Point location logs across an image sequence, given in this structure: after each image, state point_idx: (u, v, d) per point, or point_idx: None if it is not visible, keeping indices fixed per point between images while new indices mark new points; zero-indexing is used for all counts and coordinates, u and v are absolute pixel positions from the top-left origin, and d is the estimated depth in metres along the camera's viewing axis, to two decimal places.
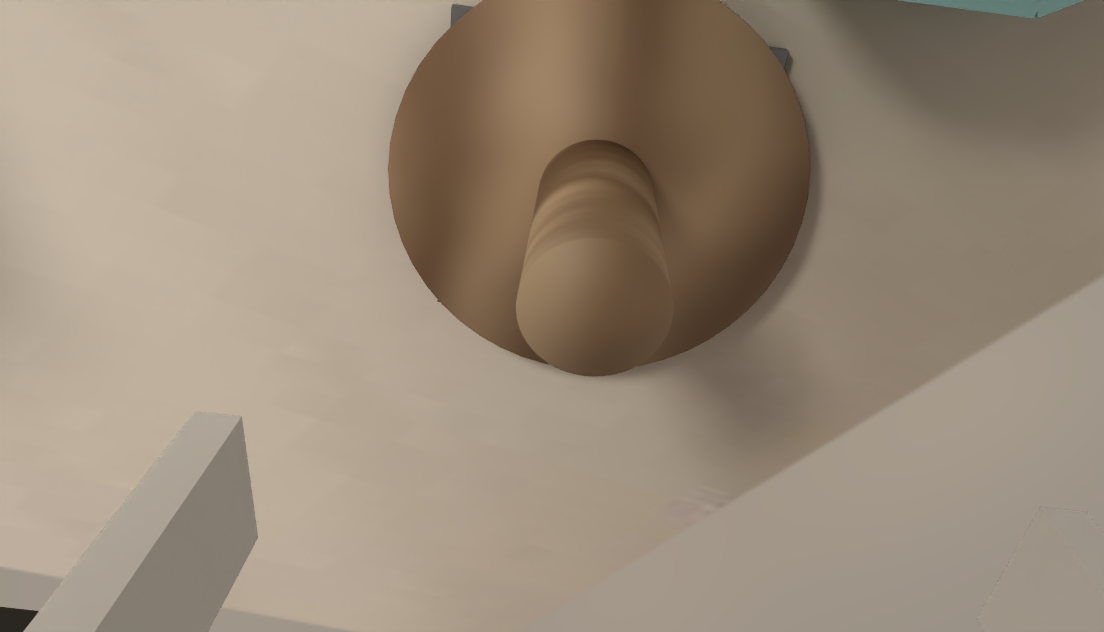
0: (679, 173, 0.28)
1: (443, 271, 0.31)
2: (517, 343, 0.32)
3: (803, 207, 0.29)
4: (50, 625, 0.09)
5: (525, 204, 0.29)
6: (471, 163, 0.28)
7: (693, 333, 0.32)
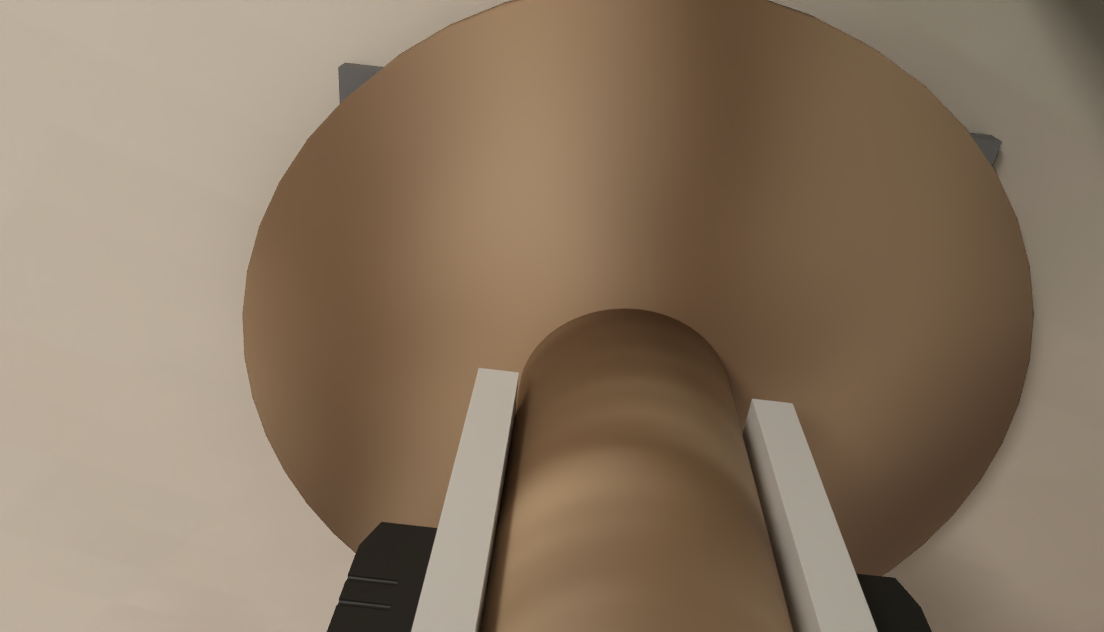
0: (779, 364, 0.15)
1: (359, 513, 0.18)
2: None
3: (1009, 418, 0.15)
4: (453, 529, 0.10)
5: None
6: (393, 348, 0.15)
7: None
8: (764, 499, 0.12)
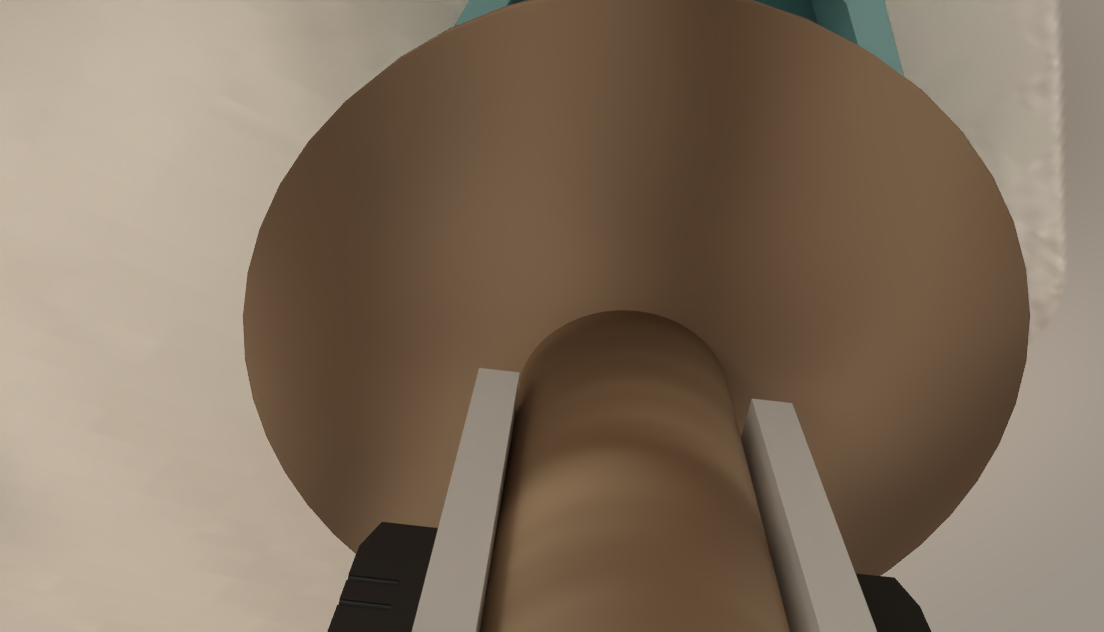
0: (777, 365, 0.15)
1: (359, 513, 0.18)
2: None
3: (1005, 420, 0.16)
4: (453, 530, 0.10)
5: None
6: (393, 350, 0.16)
7: None
8: (763, 499, 0.12)
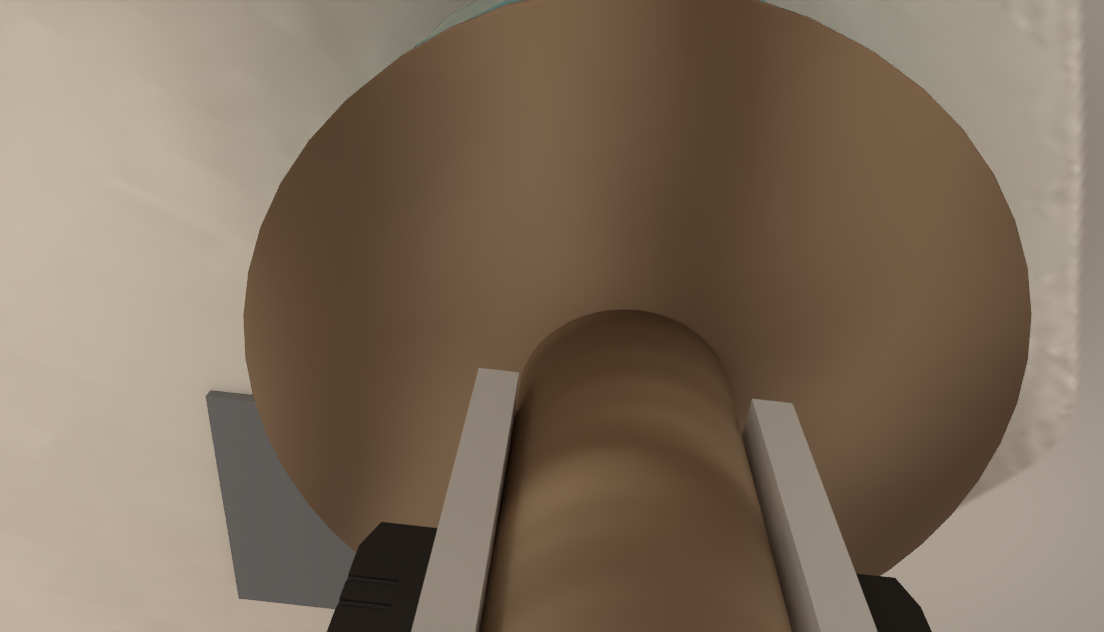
0: (778, 364, 0.15)
1: (360, 513, 0.18)
2: None
3: (1007, 419, 0.15)
4: (453, 530, 0.10)
5: None
6: (394, 349, 0.16)
7: None
8: (764, 498, 0.12)
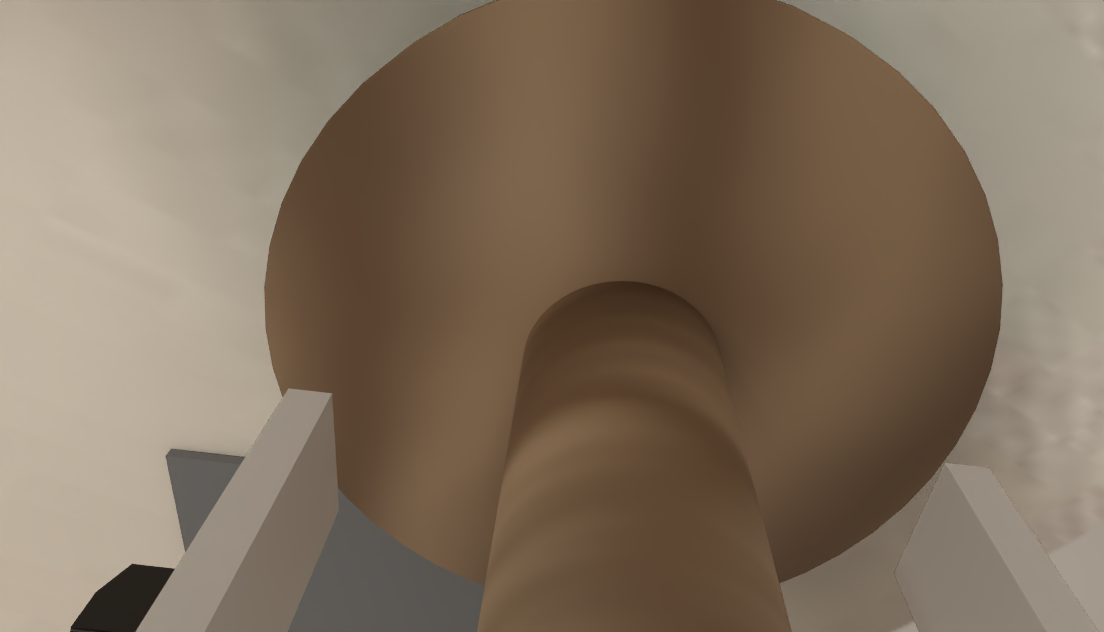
0: (767, 333, 0.16)
1: (372, 478, 0.19)
2: None
3: (981, 385, 0.17)
4: (189, 577, 0.09)
5: (500, 381, 0.17)
6: (406, 319, 0.17)
7: (779, 564, 0.20)
8: (982, 580, 0.11)
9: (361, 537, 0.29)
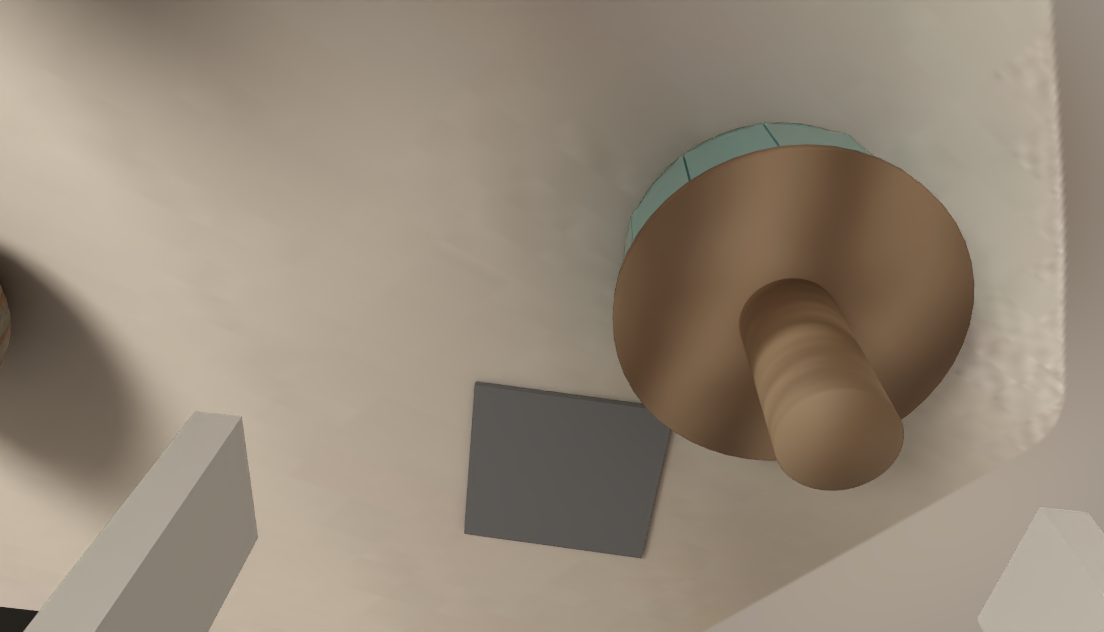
0: (861, 305, 0.34)
1: (649, 380, 0.37)
2: (705, 438, 0.38)
3: (965, 332, 0.34)
4: (50, 625, 0.09)
5: (726, 327, 0.35)
6: (685, 295, 0.34)
7: None
8: None
9: (585, 441, 0.46)
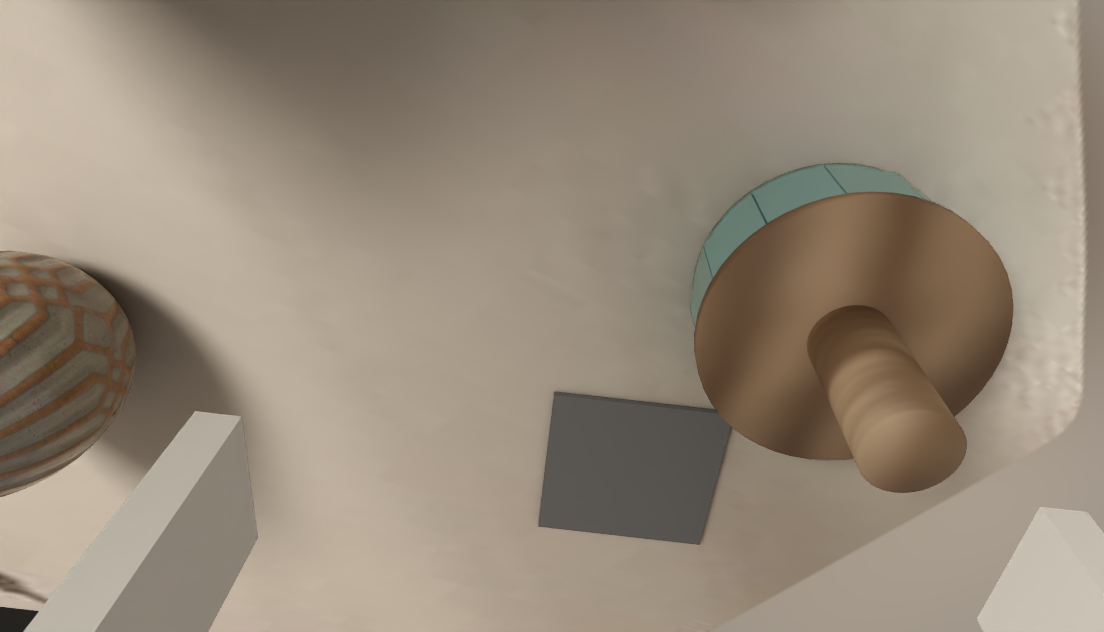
0: (914, 326, 0.39)
1: (725, 393, 0.42)
2: (772, 442, 0.43)
3: (1004, 348, 0.39)
4: (50, 625, 0.09)
5: (796, 347, 0.40)
6: (761, 321, 0.39)
7: None
8: None
9: (652, 442, 0.51)
